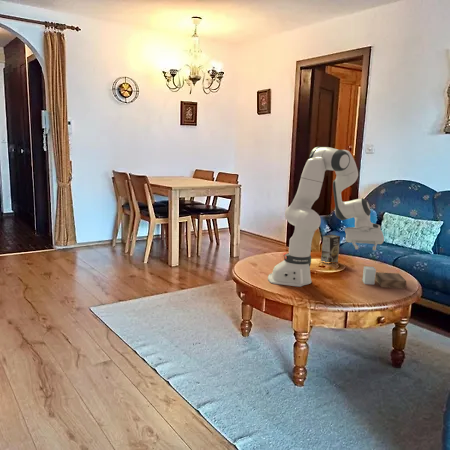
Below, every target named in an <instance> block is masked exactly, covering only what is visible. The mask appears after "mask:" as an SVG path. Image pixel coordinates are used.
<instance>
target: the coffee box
mask: <svg viewBox="0 0 450 450" xmlns="http://www.w3.org/2000/svg"><path fill="white" fill-rule="evenodd" d="M340 241H341V236H340V235H336V234H328V235H323V236H322V246H321V255H320V262H321V261H325V262H336V263H338V262H339V255H340V254H339V253H340V243H341V242H340Z"/></svg>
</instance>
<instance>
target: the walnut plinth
mask: <svg viewBox="0 0 450 450" xmlns="http://www.w3.org/2000/svg"><path fill="white" fill-rule="evenodd" d="M375 282H376V283H377V284H378V285H379V286H380V288H388V287H389V289H390V288H391V289H404V288H405V289H406V285H407V280H406V279H405V278H404V277H403V276H402V275H401V274H400V273H395V272H377V271H376V274H375Z"/></svg>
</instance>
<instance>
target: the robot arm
mask: <svg viewBox="0 0 450 450" xmlns="http://www.w3.org/2000/svg"><path fill="white" fill-rule="evenodd" d="M326 171H334V172H335V175H336V176H335V179H334V180H333V182H332V192H333V200H334V214H335V217H336V218H337V219H339V220H341V221H345V220H349V219H352V218H354V226H353V227H352V226H351V227H350V226H347V227H345V228H344V232H345V233H344V234H345V242H346V243H350V244H351V243H352V245H353V247H354V250H359V245H358V244H370V245H373V246H372V251H376V250H377V246H378V245H382V244H383V243H384V241H385V238H384V233H383V231H382V229H381V225H380V224H377V223H373V222H371V221H372V220H371V213H372V212H371V205H370V202H369V201H368V200H367V199H365V198H356V199H352V200H347V201H343V199H342V192H343V191H344V190H345V189H347V188H349V187H350V186H352V185H353V184H354V183H356V182H357V180H358V177H359V171H358V167H357V164H356V161H355V158H354V156H353V155H352V153H351V152H350V151H349V150H347V149H337V148H333V147H329V146H316V147H314V148H313V149H312V150H311V152H310V153H309V158H308V159H307V160H306V162H305V165H304V167H303V170H302V173H301V175H300V180H299V183H298V187H297V191H296V193H295V195H294V198H293V199H292V202H291V203H290V205H289V206H288V207H286V209H285V211H284V217H285V219H286V221H287V222H288V223H289V224H290V225H292V226H294V230H293V234H292V236H291V237H290V238H289V244H288V252H286V251H285V252H283V257H284V259H283V260H282V261H280V262H279V263H277V264H276V265H275V266H274V267H273V270H272V272H271V273H269V274H268V276H267V281H268V282H269V283H271V284H274V285H284V286H292V287H298V288H300V287H303V286H307V285H309V284H311V283H312V278H311V264H312V255H311V251H312V243H313V238H314V235H315V232H316V231H317V230H318V229H319V228H320V226H321V223H322V218H321V216H320V214H319V213H318V212H316V211H315V210H314V209H312V207H313V205H314V203H315V202H316V201H317V200H318V199H319V197H320V194H321V190H322V187H323V182H324V178H325V172H326Z"/></svg>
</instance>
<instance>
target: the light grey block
mask: <svg viewBox="0 0 450 450" xmlns="http://www.w3.org/2000/svg"><path fill="white" fill-rule="evenodd" d="M362 271H363V272H362V283H363V284H364V285H375V282H376V280H375V276H376V272H377V269H376V267H374V266H366V265H365V266H363V270H362Z"/></svg>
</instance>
